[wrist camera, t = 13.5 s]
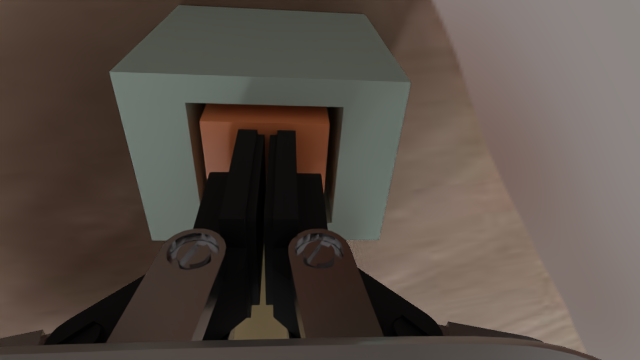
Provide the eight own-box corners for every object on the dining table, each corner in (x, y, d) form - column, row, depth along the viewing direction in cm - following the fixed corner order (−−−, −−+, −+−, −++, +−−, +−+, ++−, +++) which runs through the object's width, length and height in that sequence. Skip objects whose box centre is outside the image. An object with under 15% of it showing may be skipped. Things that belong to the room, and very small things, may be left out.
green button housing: (350, 134, 21) (378, 240, 14) (196, 130, 20) (152, 240, 14) (364, 14, 17) (411, 82, 11) (179, 4, 17) (109, 71, 10)
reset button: (316, 167, 16) (321, 220, 13) (225, 166, 15) (212, 220, 13) (321, 82, 14) (329, 124, 11) (216, 78, 13) (199, 121, 11)
